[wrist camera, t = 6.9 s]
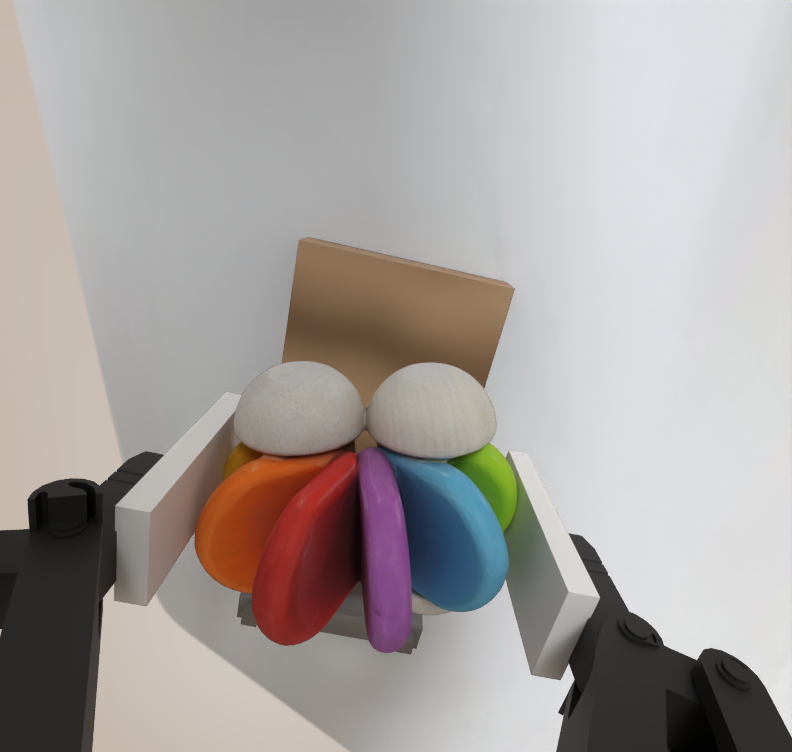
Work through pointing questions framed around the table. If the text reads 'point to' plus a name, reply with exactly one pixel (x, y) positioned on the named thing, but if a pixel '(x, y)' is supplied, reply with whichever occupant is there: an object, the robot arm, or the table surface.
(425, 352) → the wooden display stand
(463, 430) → the rainbow wooden ball puzzle
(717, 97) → the table surface
